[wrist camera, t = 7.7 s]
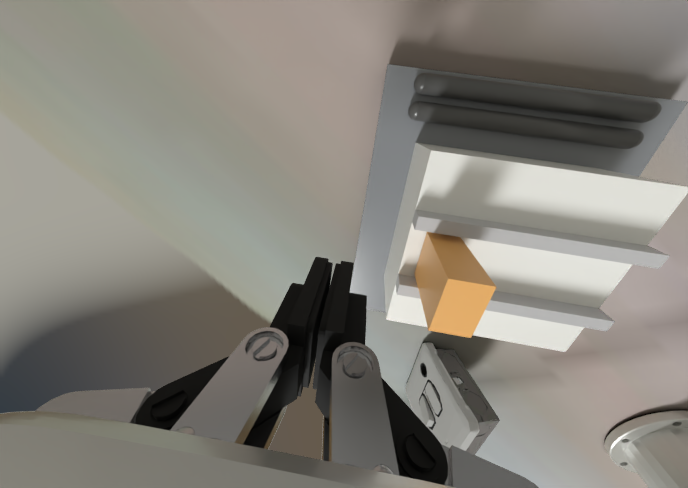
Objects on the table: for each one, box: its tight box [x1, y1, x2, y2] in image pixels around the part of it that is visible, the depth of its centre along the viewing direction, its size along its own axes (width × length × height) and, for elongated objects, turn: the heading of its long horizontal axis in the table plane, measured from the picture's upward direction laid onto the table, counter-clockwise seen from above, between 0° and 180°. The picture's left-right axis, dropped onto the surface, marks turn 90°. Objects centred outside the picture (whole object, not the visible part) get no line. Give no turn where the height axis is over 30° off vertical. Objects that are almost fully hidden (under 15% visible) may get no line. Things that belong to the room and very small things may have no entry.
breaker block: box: [350, 64, 688, 352], centre depth 18 cm, size 19×21×9 cm
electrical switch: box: [406, 342, 500, 455], centre depth 27 cm, size 9×5×9 cm, turn 172°
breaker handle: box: [414, 232, 496, 338], centre depth 13 cm, size 2×3×5 cm, turn 173°
